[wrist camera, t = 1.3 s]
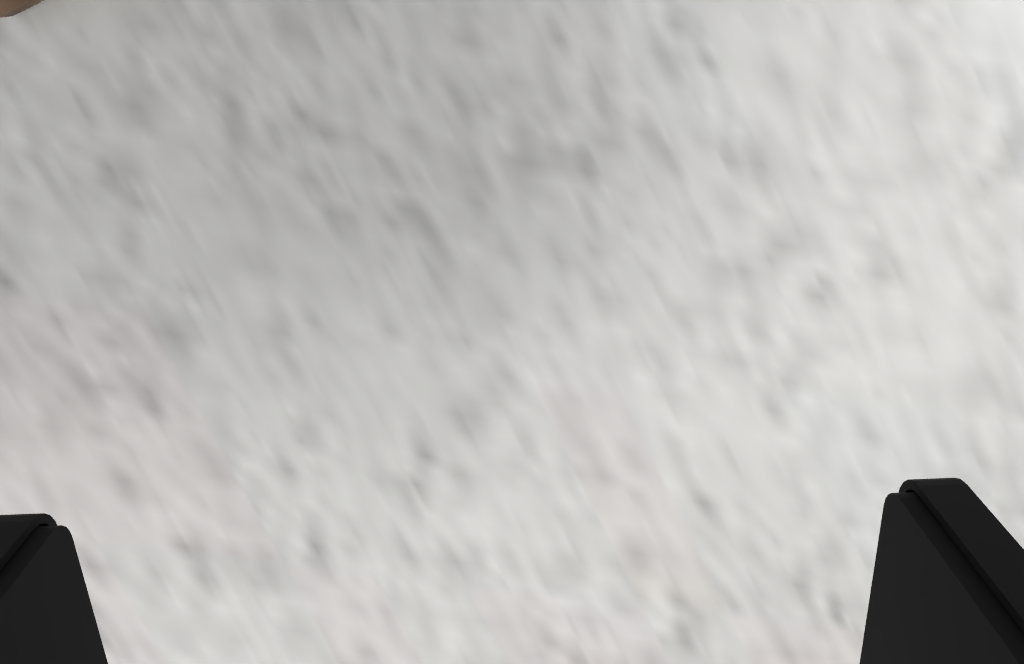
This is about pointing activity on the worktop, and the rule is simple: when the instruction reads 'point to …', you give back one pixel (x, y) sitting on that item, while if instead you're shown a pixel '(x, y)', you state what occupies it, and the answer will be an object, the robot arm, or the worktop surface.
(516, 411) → the worktop surface
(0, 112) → the worktop surface
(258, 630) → the worktop surface
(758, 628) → the worktop surface
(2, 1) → the latch board
